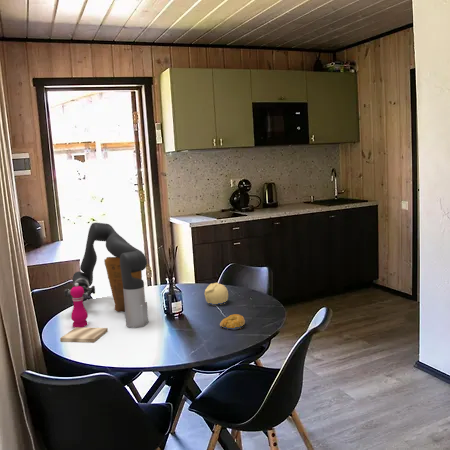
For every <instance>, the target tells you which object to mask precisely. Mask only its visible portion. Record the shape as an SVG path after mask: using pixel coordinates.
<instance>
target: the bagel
mask: <svg viewBox="0 0 450 450" xmlns="http://www.w3.org/2000/svg"><path fill="white" fill-rule="evenodd" d="M245 323H246V320H245V318H244V316H243V315H241V314H237V313H235V314H230V315H229V316H227V317H225V318H223V319H222V320H221V321H220V323H219V326H220V327H221V326H222V327H227V328H235V327H240V326H243V325H244V326H245ZM244 326H243V327H244ZM222 327H221V328H222Z"/></svg>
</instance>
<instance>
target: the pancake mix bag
mask: <svg viewBox="0 0 450 450" xmlns="http://www.w3.org/2000/svg"><path fill="white" fill-rule="evenodd" d="M103 262H104V265H105V269H106V274H107V279H108V283H109V286H110V291H111V294H112V298H113V302H114V311H116V312H117V313H119V312H120V313H125V305H124V291H123V283H122V275H121V268H120V258H118V257H115V256H108V257H106V258H104V261H103ZM142 271H143V270H142ZM142 271H138V272H133V273H131V275H132V277H133V278H138V279H142V280H143V278H142V277H143V275H142Z"/></svg>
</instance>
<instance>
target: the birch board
mask: <svg viewBox="0 0 450 450" xmlns="http://www.w3.org/2000/svg"><path fill="white" fill-rule="evenodd" d="M108 332H109V329H108V327H76V328H75V327H73V329H71V330H70V331H68V332H67V333H65V334H64V335H63V336H61V337H60V342H63V343H65V342H66V343H67V342H68V343H69V342H70V343H96V342H97V340H99V339H100V338H101V337H103V336H104V335H105V334H107V333H108Z"/></svg>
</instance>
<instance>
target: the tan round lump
mask: <svg viewBox="0 0 450 450" xmlns="http://www.w3.org/2000/svg"><path fill="white" fill-rule="evenodd" d="M204 298H205V301H206V303H208V304H209V303H212V304H218V303H223V302H226V301H227V302H228V299H229V291H228V288H227V287H226V286H225V285H224V284H223V283H222V284H221V283H218V282H213V283H210V284H208V286H207V287H206V288H205V290H204ZM227 302H226V303H227Z"/></svg>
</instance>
